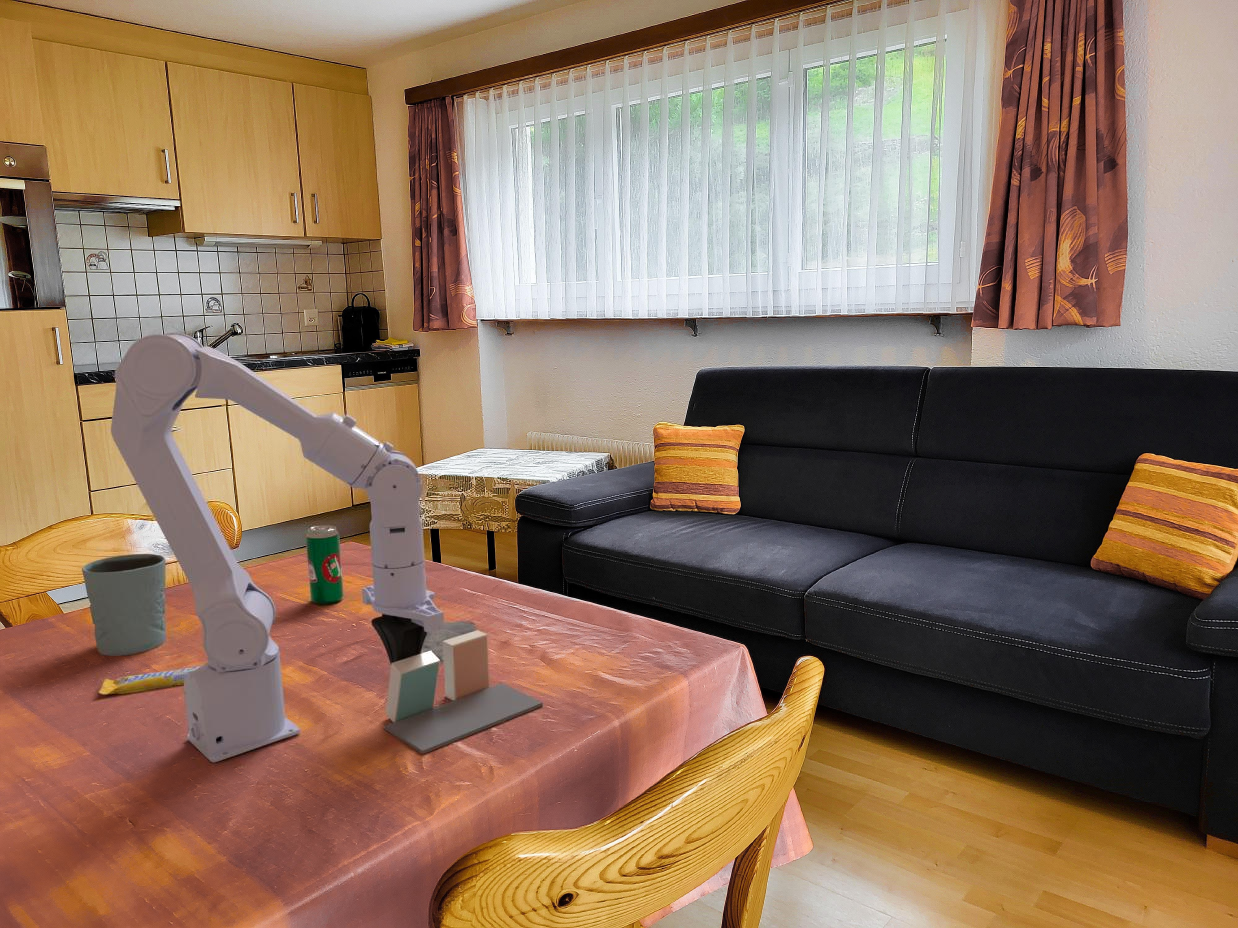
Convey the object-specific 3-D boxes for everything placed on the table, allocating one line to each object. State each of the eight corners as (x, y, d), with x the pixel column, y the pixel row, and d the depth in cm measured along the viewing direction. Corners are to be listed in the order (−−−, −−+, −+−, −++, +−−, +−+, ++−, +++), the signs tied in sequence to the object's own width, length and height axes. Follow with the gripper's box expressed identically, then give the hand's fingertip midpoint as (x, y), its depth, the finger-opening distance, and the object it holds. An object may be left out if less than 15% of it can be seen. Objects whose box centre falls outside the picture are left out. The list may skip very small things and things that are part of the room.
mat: (422, 753, 92) (422, 750, 92) (384, 728, 98) (384, 725, 98) (542, 705, 103) (542, 702, 103) (501, 685, 109) (501, 682, 109)
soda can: (311, 597, 144) (305, 526, 142) (343, 594, 146) (338, 523, 144) (310, 607, 140) (304, 533, 138) (343, 603, 141) (338, 530, 139)
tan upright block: (455, 701, 105) (452, 645, 103) (445, 696, 106) (442, 640, 105) (490, 688, 108) (487, 634, 107) (480, 683, 110) (477, 630, 108)
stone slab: (405, 616, 132) (473, 607, 133) (407, 628, 132) (474, 618, 134) (401, 667, 114) (478, 655, 116) (402, 680, 115) (480, 668, 116)
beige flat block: (395, 724, 99) (401, 673, 97) (385, 712, 101) (391, 662, 98) (433, 710, 103) (440, 660, 100) (423, 699, 104) (430, 650, 101)
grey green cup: (75, 654, 122) (64, 570, 120) (131, 629, 131) (122, 550, 129) (137, 660, 119) (126, 574, 117) (189, 633, 129) (181, 554, 127)
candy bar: (249, 667, 117) (247, 653, 117) (248, 678, 113) (247, 665, 113) (104, 689, 111) (103, 675, 111) (99, 702, 107) (97, 688, 107)
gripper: (465, 566, 96) (471, 683, 99) (397, 543, 107) (403, 649, 109) (408, 580, 92) (415, 703, 94) (342, 555, 102) (350, 666, 104)
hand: (405, 676), depth 101 cm, fingers closed
